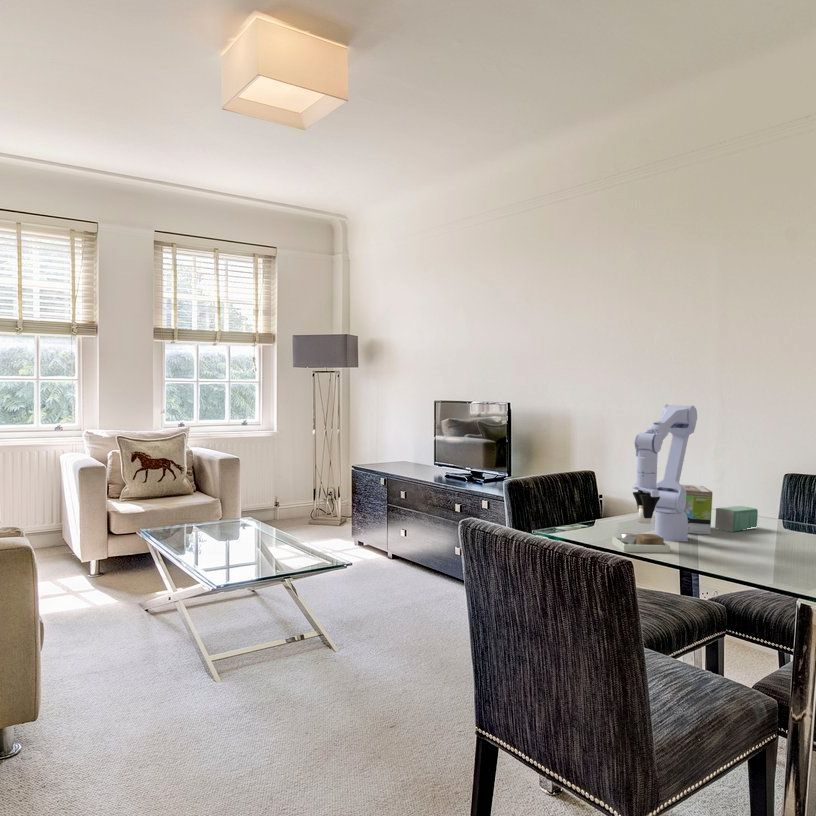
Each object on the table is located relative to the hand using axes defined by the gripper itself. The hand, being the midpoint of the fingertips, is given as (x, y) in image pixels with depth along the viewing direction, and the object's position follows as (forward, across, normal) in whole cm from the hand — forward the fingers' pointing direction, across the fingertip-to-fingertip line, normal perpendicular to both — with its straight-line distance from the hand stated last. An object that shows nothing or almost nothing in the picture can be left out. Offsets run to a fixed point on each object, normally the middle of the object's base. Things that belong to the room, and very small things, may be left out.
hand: (645, 516), depth 207 cm
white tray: (+9, +2, -2) cm, 10 cm away
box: (+10, -30, +44) cm, 54 cm away
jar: (+2, 0, 0) cm, 2 cm away
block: (+9, +2, +1) cm, 9 cm away
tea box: (+10, -28, +27) cm, 40 cm away
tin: (+9, +2, -5) cm, 11 cm away
